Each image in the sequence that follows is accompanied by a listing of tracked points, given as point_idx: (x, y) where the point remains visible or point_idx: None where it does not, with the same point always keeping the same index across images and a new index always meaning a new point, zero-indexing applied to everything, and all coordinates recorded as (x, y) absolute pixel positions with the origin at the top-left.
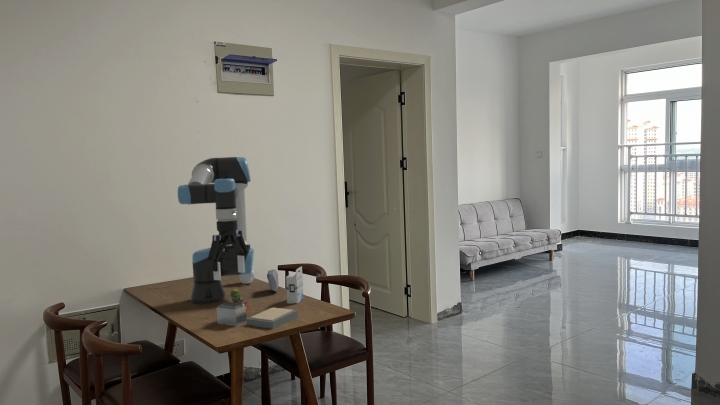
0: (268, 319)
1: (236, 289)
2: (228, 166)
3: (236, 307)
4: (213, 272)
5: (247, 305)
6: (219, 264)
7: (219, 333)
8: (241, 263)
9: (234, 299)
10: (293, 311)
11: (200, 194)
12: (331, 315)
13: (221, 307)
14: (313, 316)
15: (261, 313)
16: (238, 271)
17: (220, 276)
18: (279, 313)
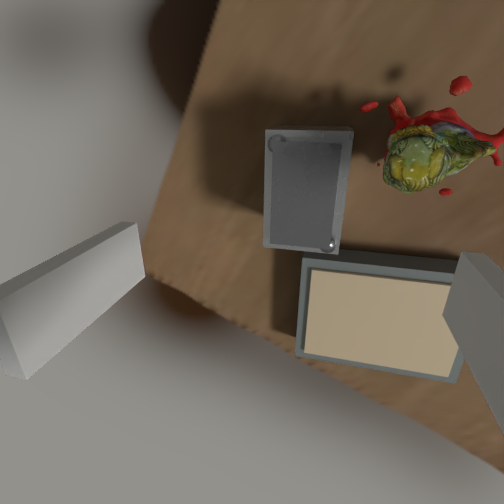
0: (306, 340)
1: (427, 173)
2: None
3: (281, 242)
4: (77, 244)
5: (445, 189)
6: (37, 360)
7: (213, 195)
8: (486, 364)
9: (384, 165)
10: (437, 376)
11: None
12: (492, 444)
13: (271, 158)
14: (473, 401)
15: (372, 286)
16: (462, 260)
17: (125, 289)
18: (386, 348)
